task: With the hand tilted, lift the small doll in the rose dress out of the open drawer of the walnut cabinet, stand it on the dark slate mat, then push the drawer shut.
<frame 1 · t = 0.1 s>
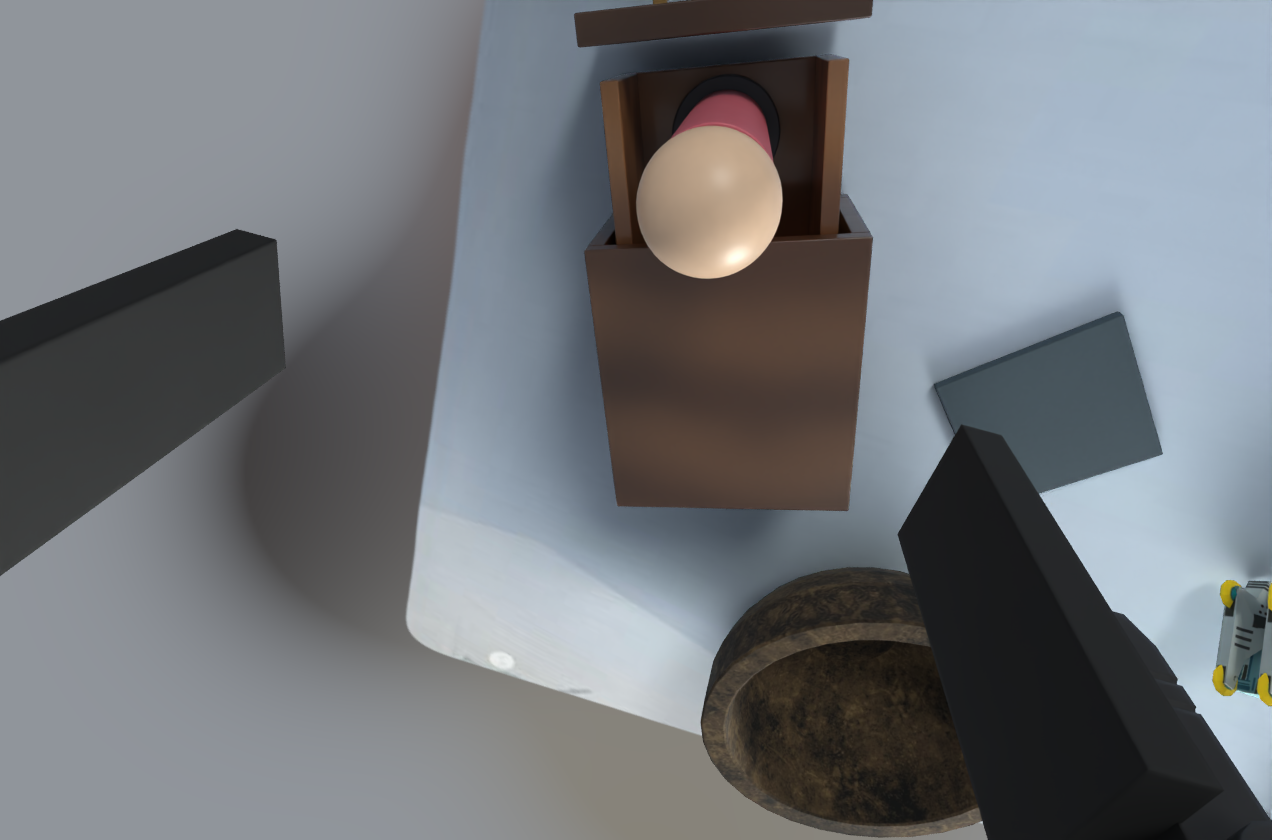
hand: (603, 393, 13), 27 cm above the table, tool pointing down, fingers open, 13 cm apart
mat: (1045, 416, 40), on the table
drawer: (724, 123, 30), point 4 cm above the table, slide at 8.0 cm, touching doll
bowl: (850, 620, 51), on the table
doll: (725, 133, 33), point 2 cm above the table, touching drawer
cabinet: (730, 325, 40), on the table
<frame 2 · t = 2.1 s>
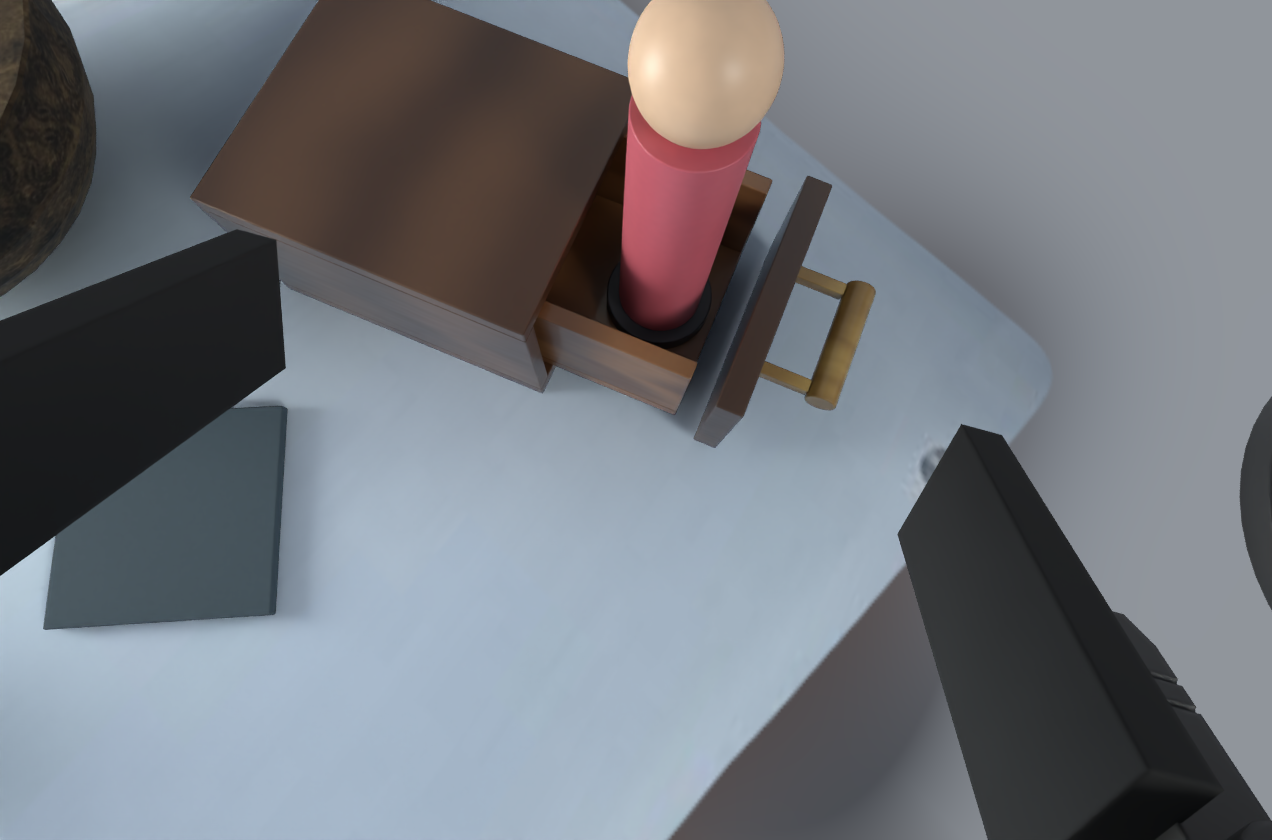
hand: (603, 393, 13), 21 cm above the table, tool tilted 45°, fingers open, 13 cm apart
mat: (175, 513, 32), on the table
drawer: (675, 287, 31), point 4 cm above the table, slide at 8.0 cm, touching doll
doll: (657, 300, 33), point 2 cm above the table, touching drawer
cabinet: (467, 239, 36), on the table
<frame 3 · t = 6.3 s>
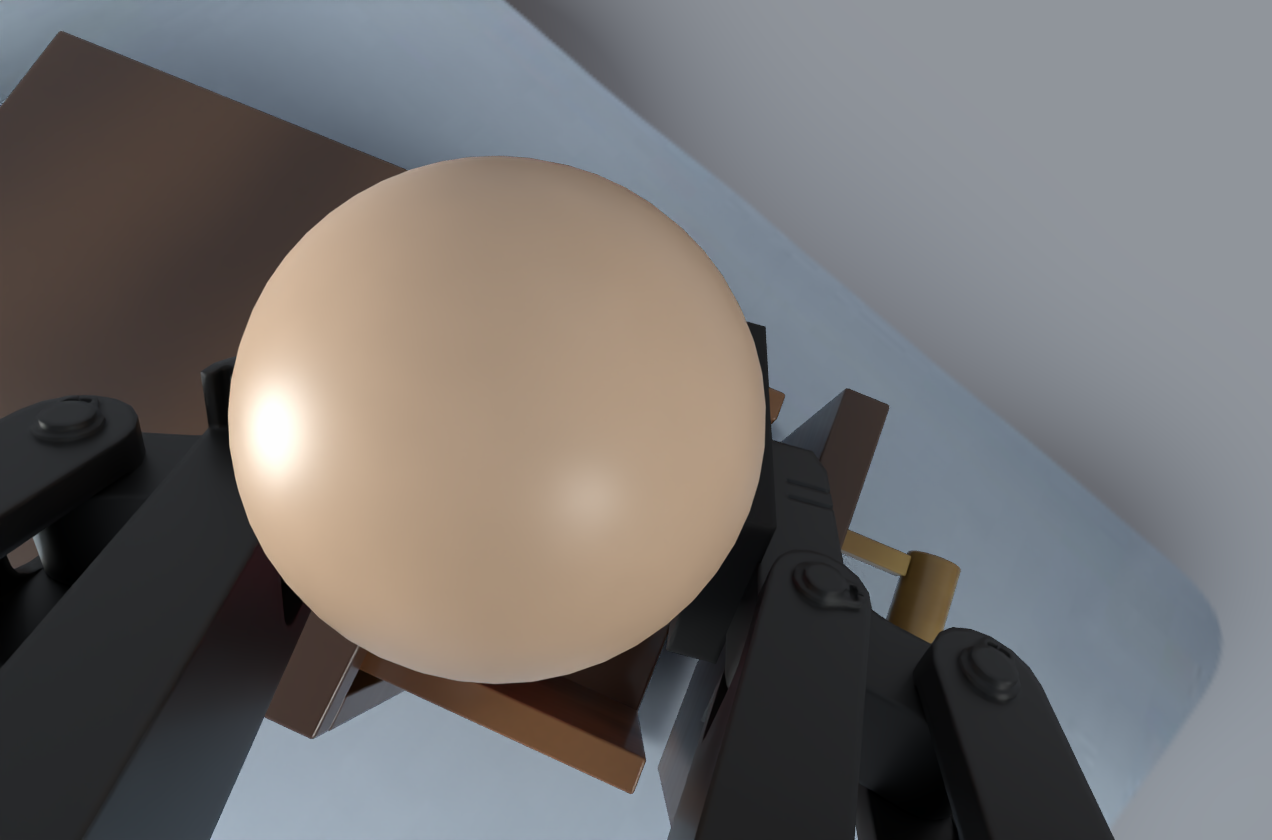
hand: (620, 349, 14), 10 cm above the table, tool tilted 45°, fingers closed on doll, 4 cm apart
drawer: (624, 547, 19), point 4 cm above the table, slide at 7.9 cm, touching doll
doll: (596, 539, 21), point 2 cm above the table, touching drawer, gripper
cabinet: (326, 424, 24), on the table
when the fingers open (8 cm above the table, at t = 18.0 s): doll stays where it is, resting on mat.
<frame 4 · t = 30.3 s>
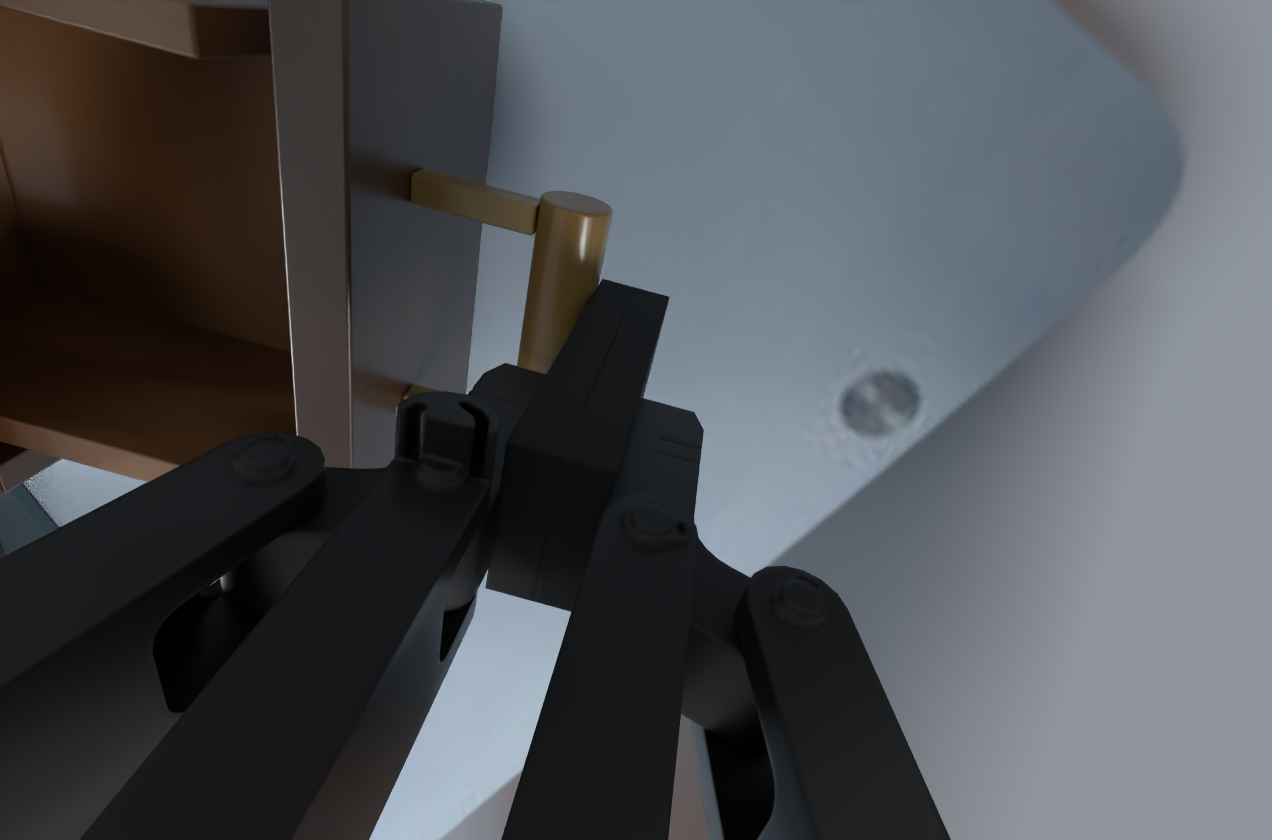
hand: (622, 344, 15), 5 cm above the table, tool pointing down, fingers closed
drawer: (226, 234, 15), point 4 cm above the table, slide at 7.2 cm, touching gripper
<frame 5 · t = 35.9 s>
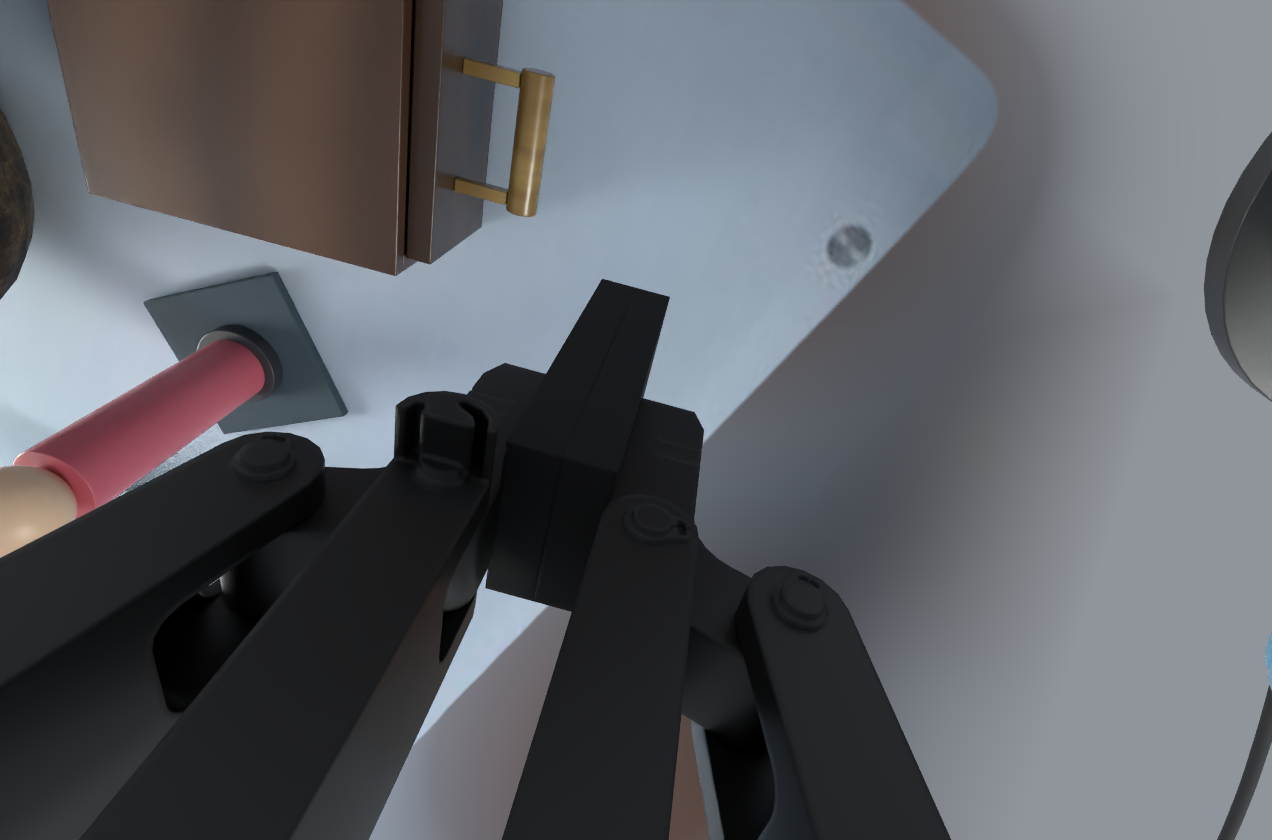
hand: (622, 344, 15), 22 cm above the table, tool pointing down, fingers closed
mat: (251, 357, 44), on the table
drawer: (367, 98, 30), point 4 cm above the table, slide at 0.0 cm
doll: (245, 361, 43), point 1 cm above the table, touching mat
cabinet: (339, 72, 34), on the table
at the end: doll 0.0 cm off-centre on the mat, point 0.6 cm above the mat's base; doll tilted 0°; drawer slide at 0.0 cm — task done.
